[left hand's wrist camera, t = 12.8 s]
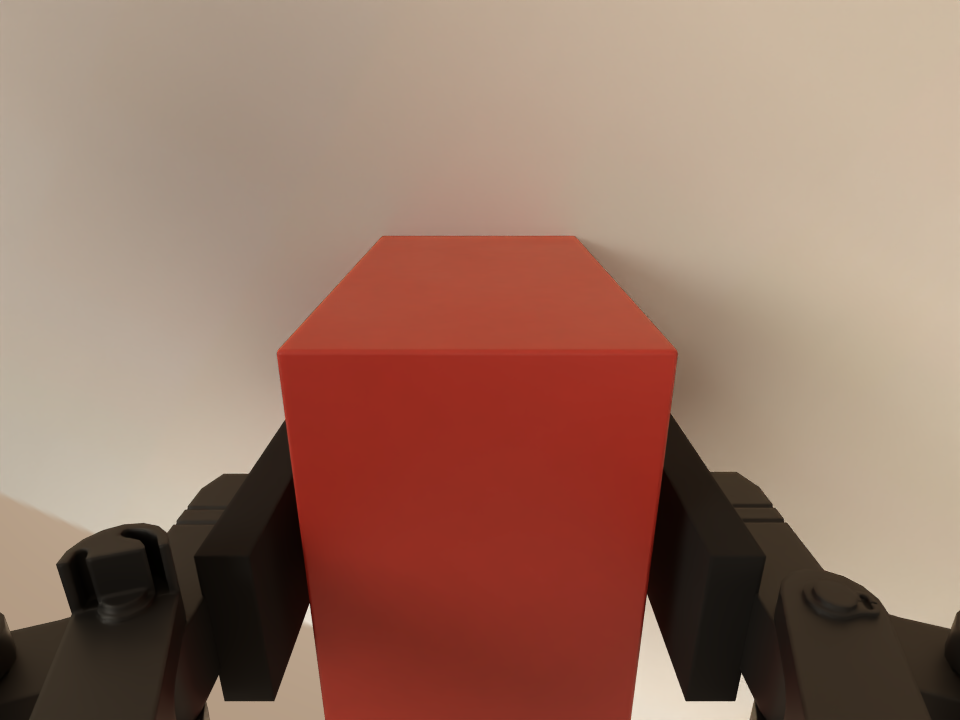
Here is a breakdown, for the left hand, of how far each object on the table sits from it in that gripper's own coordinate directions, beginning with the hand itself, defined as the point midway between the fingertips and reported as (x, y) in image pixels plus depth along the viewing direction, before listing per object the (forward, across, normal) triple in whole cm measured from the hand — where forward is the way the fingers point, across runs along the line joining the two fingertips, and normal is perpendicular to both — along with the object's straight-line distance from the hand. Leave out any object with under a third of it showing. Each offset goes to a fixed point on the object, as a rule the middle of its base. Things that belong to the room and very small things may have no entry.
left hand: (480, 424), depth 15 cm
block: (+3, 0, 0) cm, 3 cm away
